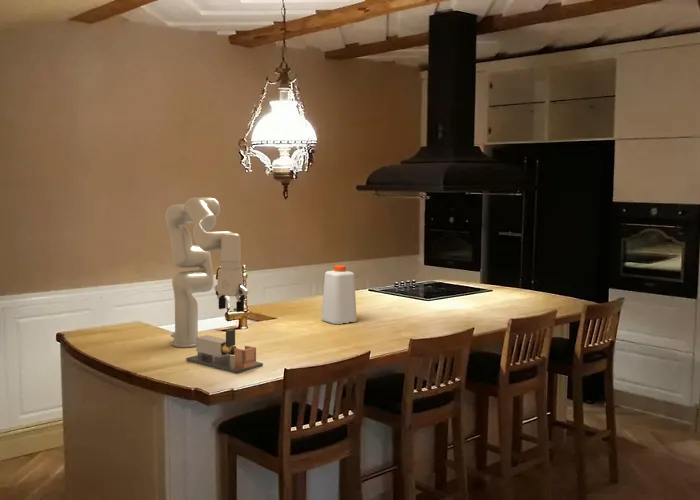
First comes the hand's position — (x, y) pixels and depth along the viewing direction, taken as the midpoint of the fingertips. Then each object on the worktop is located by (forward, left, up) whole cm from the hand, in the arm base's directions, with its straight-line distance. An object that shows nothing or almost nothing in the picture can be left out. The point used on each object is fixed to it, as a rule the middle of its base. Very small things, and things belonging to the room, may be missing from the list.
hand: (231, 310), depth 281 cm
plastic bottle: (-20, +93, -22) cm, 98 cm away
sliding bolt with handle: (-7, 0, -17) cm, 19 cm away
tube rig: (-4, 0, -22) cm, 22 cm away
